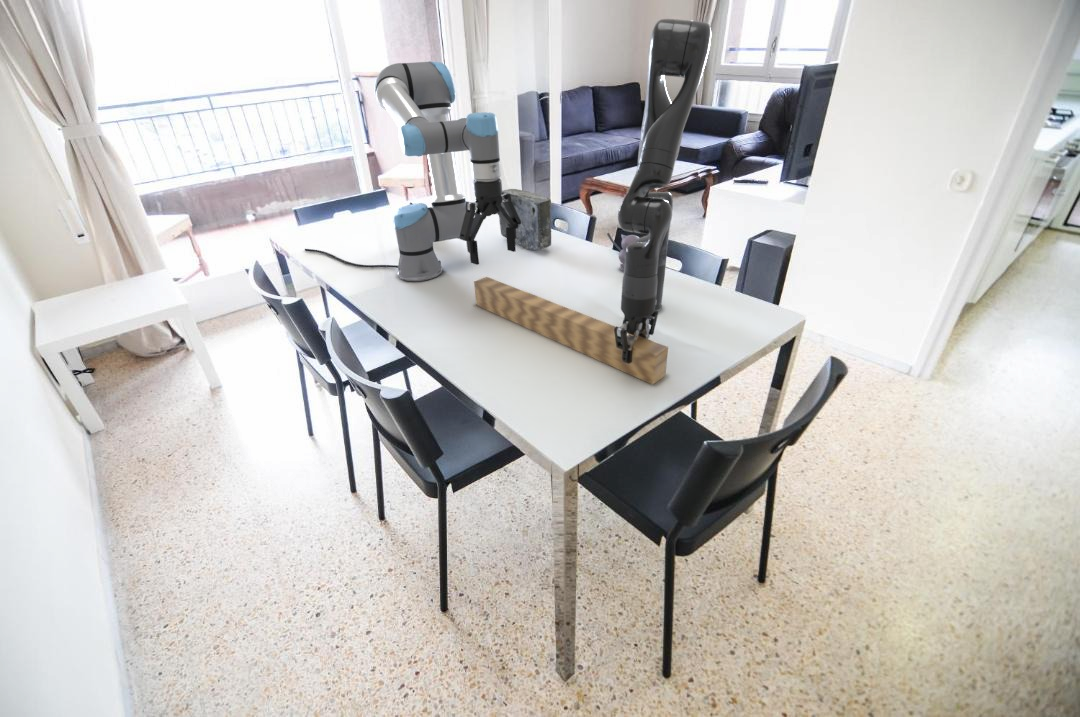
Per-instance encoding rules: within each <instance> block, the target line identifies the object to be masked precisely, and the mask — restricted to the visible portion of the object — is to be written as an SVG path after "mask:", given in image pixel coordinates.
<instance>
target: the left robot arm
mask: <svg viewBox="0 0 1080 717" xmlns="http://www.w3.org/2000/svg"><path fill="white" fill-rule="evenodd" d="M373 92H374V93H373V94H374V97H375V99H376V101H377V103H378V105H380V107H381V109H383V110H385V111H387V112H388V113H389V115H390V116H391V118H392V119H393V121H394V122H395V124H396V126H397V127H398V139H399V144H400V148H401V150H402V153H403V154H404V155H405V156H407V157H422V156H427V161H428V166H429V171H430V177H431V184H432V188H433V197H432V199H431V200H430V202H431V206H430V207H429V206H428V205H427V204H426V203H424V202H423V203H422V202H419V203H412V204H411V205H410V204H407V205H404V206H401V207H399V208H397V209H396V210H395V211H394V213H393V215H392V219H393V228H394V230H395V231H394V232H395V236H396V241H397V247H398V251H399V259H398V265H395V264H361V263H354V262H350V261H347V260H344V259H342V258H341V257H338V256H336V255H335V254H332V253H330V252H327V251H325V250H319V249H313V248H304V251H305V252H314V253H319V254H324V255H326V256H329V257H331V258H333V259H336V260H337V261H339V262H341V263H344V264H347V265H350V266H355V267H359V268H394V269H397V276H398V278H399V279H400V280H402V281H406V282H413V283H414V282H425V281H429V280H432V279H435V278H438V277H439V276H440V275H441V274H442V273H443V268H442V263H441V260H439V259H438V256H437V254H436V252H435V250H434V243H439V242H444V241H449V240H454V239H455V240H456V239H459V240H461V241H463V242H466V251H467V253H469V258H470V264H473V265H476V266H478V265H480V259H479V249H478V241H477V240H476V237H477V235H478V234H479V230H480V228H481V226H482V224H483V223H484V220H486V218H487V217H490V216H492V215H497V216H498V217H499V216H500V217H501V219H502V220H503V221H504V222H505V223H506V224H507V225H508V226H509V228H508V227H507V228H506V235H507V238H506V247H507V248H506V249H507V251H510V252H512V253H515V252H516V243H515V239H516V229H518V224H519V225H520V224H521V220H520V218H519V216H518V214H517V212H516V210H515V208H514V205H513V203H512V201H511V195H510V194H508V193H502V191H503V183H502V179H501V177H502V172H501V171H502V170H501V157H500V144H499V143H500V140H499V126H498V119H497V115H496V114H495V113H494V112H487V111H486V112H481V111H480V112H472V113H468V114H467V115H466V117H462V118H458V119H454V120H453V119H451V120H449V117H448V115H449V113H450V112H451V110H452V104H453V103H454V102H455V100H456V95H455V94H456V89H455V83H454V80H453V76H452V74H451V71H450V70H449V68H448V66H447V65H446V64H445V63H443V62H440V61H417V62H396V63H392V64H389V65H388V66H386V67H384V68H383V69H382V70H381V71H380V72H379V73H378V75H377V76H376V78H375V80H374V85H373ZM464 151H469V158H470V170H471V178H472V180H473V181H472V188H473V195H474V197H475V201H473V202H472V201H468V200H466V196H465V195H463V194H462V193H461V191H460V186H459V185H460V184H459V178H458V174H457V166H456V160H455V154H454V153H456V152H464ZM501 193H502V195H501ZM502 202H503V204H504V206H505V208H506V210H507V212H508V214H509V215H508V214H507V213H506V212H505V210H504V208H503V207H502V206H501V203H502ZM509 216H510V217H509Z"/></svg>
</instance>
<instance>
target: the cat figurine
mask: <svg viewBox="0 0 1080 717" xmlns="http://www.w3.org/2000/svg"><path fill="white" fill-rule="evenodd" d="M620 235H621V243H620V244H621V251H619V253H618V260H619V261H620V263H621V264H620V271H621V272H622V273H624V265H625V251H626V248H627V246H628V245H629V244H631V243H634V242H635V241H636V240H637V239H639V238H640V237H639V236H637V235H635V234H628V235H625V234H623V233H621V234H620Z"/></svg>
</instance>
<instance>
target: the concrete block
mask: <svg viewBox="0 0 1080 717" xmlns="http://www.w3.org/2000/svg"><path fill="white" fill-rule="evenodd" d="M502 193H508V194H510V195H511V201H512V203H513V205H514V208H515V210H516V212H517V214H518V216H519V218H520V220H521V224H520V225H519V224H518V229H516V239H515V245H517V246H519V247H522V248H523V249H526V250H529V251H542V250H544V249H546V248H548V247H551V245H552V200H551V198H550V197H546V196H544V195H541V194H538V193H535V192H531V191H527V190H522V189H517V188H508V189H502ZM502 193H501V195H502ZM501 206H502V207H503V208H504V210H505V212H506V213H507V214H508V212H507V210H506V208H505V206H504V204H503V202H502V203H501ZM508 215H509V214H508ZM509 217H510V216H509ZM498 219H499V221H498V222H499V228H500V234H501V236H503V238H505V239H507V235H506V228H507V227H508V228H509V226H508V225H507V224H506V223H505V222H504V221H503V220H502V219H501V217H500V216H499V215H498Z"/></svg>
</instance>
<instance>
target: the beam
mask: <svg viewBox="0 0 1080 717" xmlns="http://www.w3.org/2000/svg"><path fill="white" fill-rule="evenodd" d="M473 283H474V284H473V285H474V286H473V287H474V293H475V295H474V296H475V303H476V306H477V307H480V308H482V309H483V310H485V311H488V312H491V313H493V314H495V315H497V316H499V317H502V318H504V319H506V320H507V321H510V322H513V323H515V324H517V325H519V326H521V327H524V328H526V329H528V330H530V331H533V332H535V333H537V334H539V335H541V336H543V337H546V338H548V339H550V340H553V341H555V342H557V343H559V344H561V345H564V346H566V347H567V348H570V349H573V350H575V351H577V352H578V353H581V354H583V355H585V356H588V357H589V358H592V359H595V360H597V361H599V362H601V363H603V364H606V365H608V366H610V367H613V368H615V369H616V370H619V371H622V372H623V373H626V374H628V375H630V376H632V377H635V378H636V379H639V380H641V381H643V382H646V383H648V384H650V385H652V386H653V385H655V384H656V383H658V382H659V381H660V380H662V379H663V378H664V377H665V376H666V371H667V362H668V354H669V346H666V345H664V344H662V343H659V342H657V341H653V340H652V339H650V338H649V339H646V338H644V337H641V336H638V338H637V341H635V342H634V345H633V348H632V350H633V351H632V362H631V363H630V364H628V363H625V362H623V360H622V351H623V350H621V349H619V348H617V347H616V340H615V333H614V329H615V327H616V325H614V324H613V325H612V324H610V323H607V322H605V321H602V320H600V319H597V318H595V317H592V316H590V315H587V314H584V313H581V312H578V311H576V310H574V309H571V308H569V307H566V306H564V305H561V304H558V303H556V302H553V301H550V300H547V299H545V298H542V297H540V296H539V295H538V296H537V295H535V294H532V293H530V292H528V291H524V290H523V289H519V288H517V287H515V286H512V285H509V284H507V283H505V282H501V281H499V280H496V279H494V278H491V277H488V276H485V277H482V278H480V279H476V280H475V281H473ZM627 333H628V332H627ZM628 335H630V336H632V337H633V335H632V334H629V333H628ZM627 341H628V344H629V343H630V340H628V339H627Z"/></svg>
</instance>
